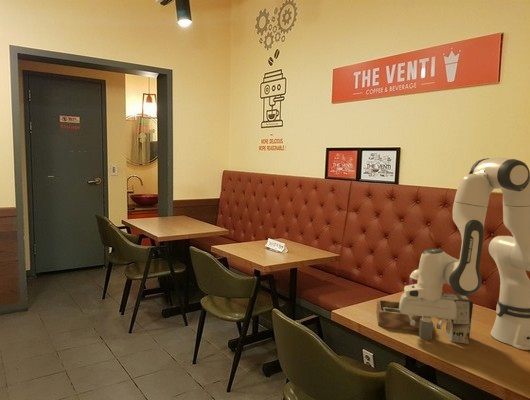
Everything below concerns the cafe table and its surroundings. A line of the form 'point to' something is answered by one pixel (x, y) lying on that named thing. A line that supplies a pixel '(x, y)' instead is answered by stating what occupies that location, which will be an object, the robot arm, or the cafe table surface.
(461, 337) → the coffee box
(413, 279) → the smoothie
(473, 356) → the cafe table surface
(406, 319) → the crate
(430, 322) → the plug
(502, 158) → the robot arm
